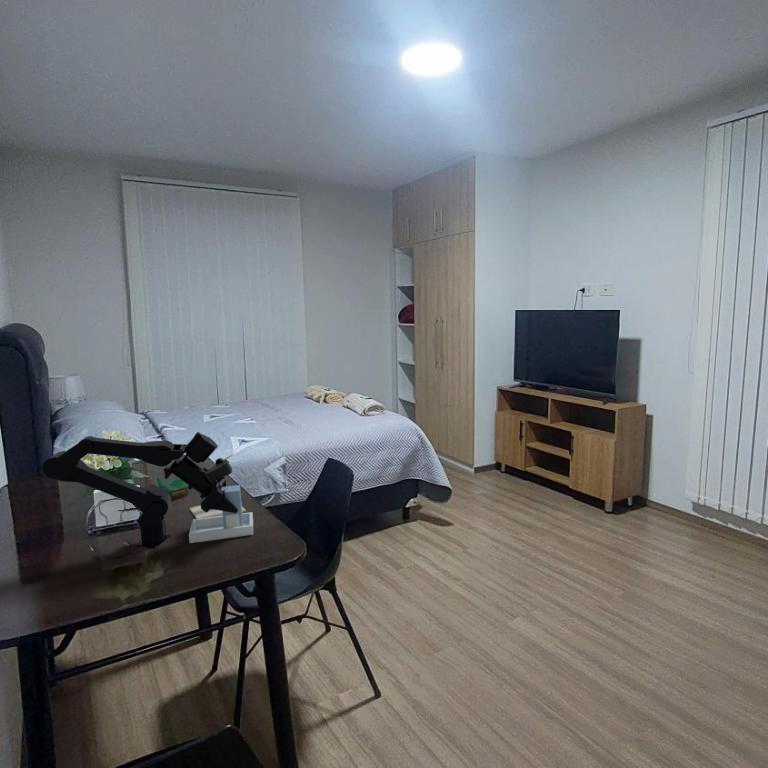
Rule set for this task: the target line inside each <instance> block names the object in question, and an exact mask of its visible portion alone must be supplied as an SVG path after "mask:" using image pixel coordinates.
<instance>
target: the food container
mask: <svg viewBox="0 0 768 768" xmlns="http://www.w3.org/2000/svg"><path fill="white" fill-rule="evenodd" d="M154 478H155V479H156V480H157V487H160V488H165V491H166V492H168V493H169V494H170V497H171V501H175V500H179V499H183V498H186V497H187V496H188V495H189V493H190V492H189V491H190V489H188V485H187V484H186V483H184V482H183V481H182V480H180V479H179V478H178V477H176V476H175V475H174V474H171V475H170V476H169V477H168V478H167V479H165V472H164V471H163V472H162V471H155V474H154Z"/></svg>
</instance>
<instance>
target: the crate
mask: <svg viewBox="0 0 768 768" xmlns="http://www.w3.org/2000/svg"><path fill="white" fill-rule="evenodd" d="M242 516H243V526H239V527H232V528H224V525H223V516H217V517H209V518H201V519H196V518H195V519H194V518H193V519H192V522H191V526H190V528H189V533H188V541H189V544H194V543H200V542H201V543H202V542H210V541H216V540H225V539H232V538H240V537H245V536H246V537H247V536H253V535H254V514H253V511H251V512H247V513H242Z"/></svg>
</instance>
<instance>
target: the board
mask: <svg viewBox="0 0 768 768" xmlns="http://www.w3.org/2000/svg"><path fill="white" fill-rule="evenodd" d="M189 511H191V514H192V515H193V516H194V517H195V519H201V518H209V517H217V516H223V513H222V511H220V510H213V509H211V510H209V511H208V512H207V513H206V512H205V511H203V510H202V509H201V504H200V505H196V506H191V507H189ZM242 513H248V511H247V510H246V508H244V506H242Z"/></svg>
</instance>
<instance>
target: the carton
mask: <svg viewBox="0 0 768 768" xmlns="http://www.w3.org/2000/svg"><path fill="white" fill-rule="evenodd" d="M224 489H225V495H226V498H227V499H228V500H229V501H230V502H231V503H232V504H233V505H234V506H235V507H236V508H237V509H238V512H237V513H231V512H226V511H222V513H223V525H224V528H232V527H239V526H243V516H242V507H243V505H242V494H241V493H242V492H241V491H242V490H241V485H240V484H238V485H228V486H227V487H222V489H221V490H222V491H223V490H224Z"/></svg>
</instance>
